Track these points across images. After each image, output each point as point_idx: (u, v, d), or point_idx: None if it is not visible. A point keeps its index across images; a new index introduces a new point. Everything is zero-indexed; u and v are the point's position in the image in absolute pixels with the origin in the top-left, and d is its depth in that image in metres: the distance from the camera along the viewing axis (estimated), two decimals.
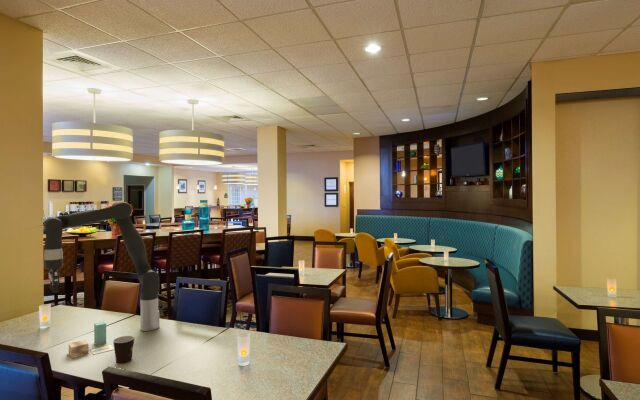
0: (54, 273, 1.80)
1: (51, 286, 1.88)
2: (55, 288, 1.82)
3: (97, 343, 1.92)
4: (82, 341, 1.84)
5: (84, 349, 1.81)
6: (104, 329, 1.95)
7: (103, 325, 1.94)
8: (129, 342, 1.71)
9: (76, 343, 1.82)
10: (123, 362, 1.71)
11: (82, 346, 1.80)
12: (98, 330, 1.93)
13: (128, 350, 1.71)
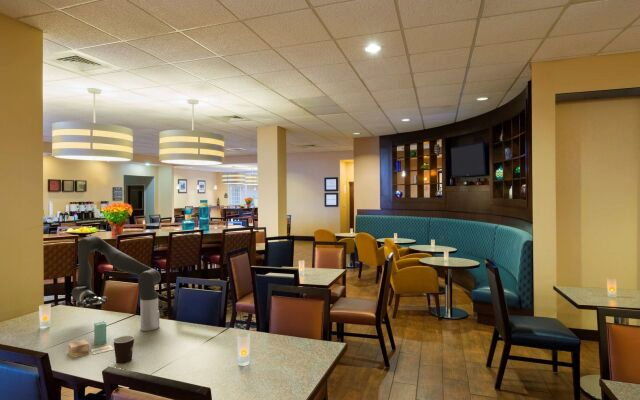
0: (76, 303, 2.06)
1: (102, 303, 2.07)
2: (82, 305, 2.01)
3: (97, 343, 1.92)
4: (82, 341, 1.84)
5: (84, 349, 1.81)
6: (104, 329, 1.95)
7: (103, 325, 1.94)
8: (129, 342, 1.71)
9: (76, 343, 1.82)
10: (123, 362, 1.71)
11: (82, 346, 1.80)
12: (98, 330, 1.93)
13: (128, 350, 1.71)
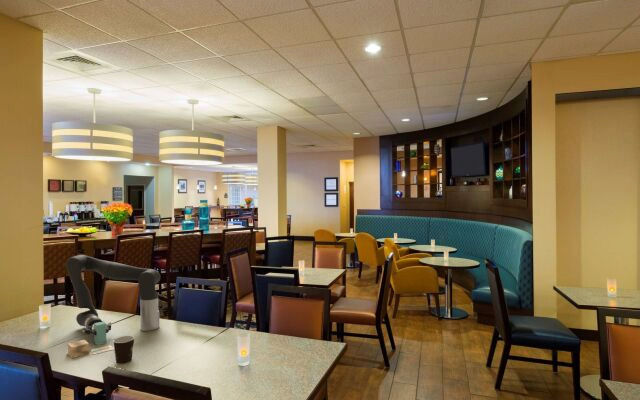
0: (82, 331, 1.96)
1: None
2: (92, 333, 1.92)
3: (97, 343, 1.92)
4: (82, 341, 1.84)
5: (85, 348, 1.81)
6: (104, 329, 1.94)
7: (103, 325, 1.94)
8: (129, 342, 1.71)
9: (76, 343, 1.82)
10: (123, 362, 1.71)
11: (83, 346, 1.80)
12: (98, 330, 1.93)
13: (128, 350, 1.71)
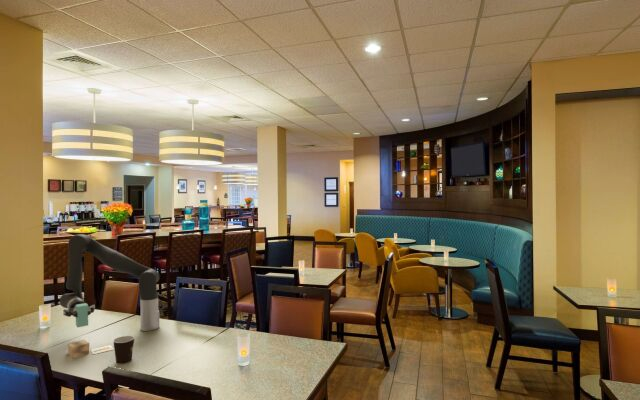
0: (63, 313, 1.85)
1: None
2: (73, 314, 1.82)
3: (78, 325, 1.82)
4: (82, 341, 1.84)
5: (85, 348, 1.81)
6: (86, 311, 1.84)
7: (85, 306, 1.84)
8: (129, 342, 1.71)
9: (76, 343, 1.82)
10: (123, 362, 1.71)
11: (83, 346, 1.80)
12: (79, 312, 1.82)
13: (128, 350, 1.71)
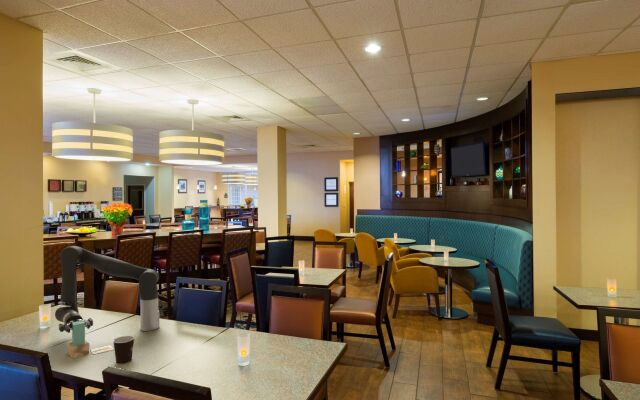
0: None
1: (87, 327, 1.84)
2: (66, 330, 1.78)
3: (75, 344, 1.79)
4: None
5: (85, 348, 1.81)
6: (83, 329, 1.81)
7: (81, 325, 1.81)
8: (129, 342, 1.71)
9: None
10: (123, 362, 1.71)
11: (83, 346, 1.80)
12: (75, 330, 1.79)
13: (128, 350, 1.71)
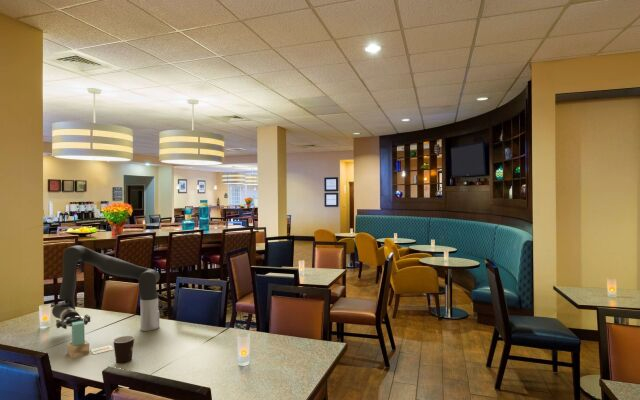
0: (56, 324, 1.88)
1: (84, 323, 1.90)
2: (62, 326, 1.84)
3: (74, 344, 1.79)
4: None
5: (85, 348, 1.81)
6: (82, 329, 1.81)
7: (81, 325, 1.81)
8: (129, 342, 1.71)
9: None
10: (123, 362, 1.71)
11: (83, 346, 1.80)
12: (75, 330, 1.79)
13: (128, 350, 1.71)
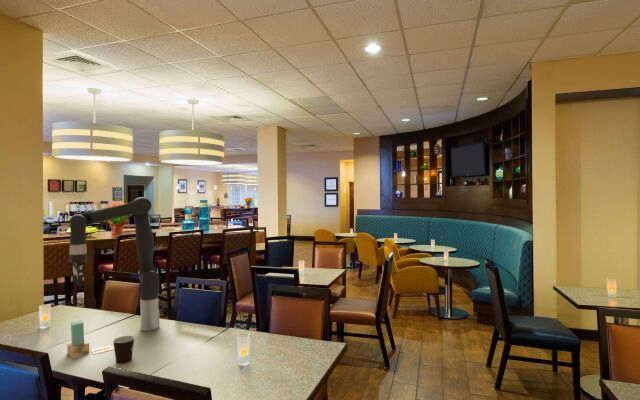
0: (79, 267, 1.91)
1: (75, 279, 1.99)
2: (80, 281, 1.92)
3: (74, 344, 1.79)
4: None
5: (85, 348, 1.81)
6: (81, 329, 1.81)
7: (80, 324, 1.81)
8: (129, 342, 1.71)
9: None
10: (123, 362, 1.71)
11: (83, 346, 1.80)
12: (74, 330, 1.79)
13: (128, 350, 1.71)
